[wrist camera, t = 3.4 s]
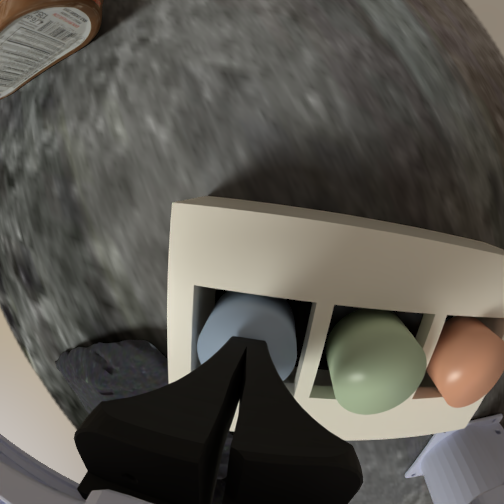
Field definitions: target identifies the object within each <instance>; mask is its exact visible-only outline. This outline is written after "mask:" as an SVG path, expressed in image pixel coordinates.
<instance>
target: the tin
mask: <svg viewBox="0 0 504 504" xmlns="http://www.w3.org/2000/svg"><path fill="white" fill-rule="evenodd" d="M103 1H104V0H1V1H0V100H1V99H3V98H5V97H7V96H9V95H11V94H12V93H14V92H15V91H17V90H18V89H19V88H21V87H22V86H23V85H25V84H26V83H28V82H29V81H30V80H32V79H33V78H35V77H36V76H38V75H39V74H41V73H42V72H44V71H45V70H47V69H48V68H50V67H51V66H53V65H55V64H56V63H58V62H60V61H61V60H63V59H65V58H66V57H68V56H70V55H71V54H73V53H75V52H77V51H78V50H80V49H81V48H83V47H84V46H86V45H87V44H88V43H89V42H90V41H91V40H92V39H93V38H94V37H95V36H96V34H97V33H98V31H99V29H100V26H101V20H102V5H103Z"/></svg>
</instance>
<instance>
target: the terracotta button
mask: <svg viewBox="0 0 504 504" xmlns="http://www.w3.org/2000/svg"><path fill="white" fill-rule="evenodd" d="M503 370H504V341H503V340H502V339H501V338H500V337H498V336H497V335H496V334H495V333H494V332H493V331H491V330H490V329H489V328H488V327H487V326H485V325H484V324H483V323H482V322H481V321H479V320H478V319H477V318H476V317H472V316H455V317H453V318H451V319H449V320H448V321H446V322H445V323H444V325H443V328H442V331H441V334H440V336H439V339H438V342H437V344H436V347H435V349H434V352H433V354H432V357H431V359H430V361H429V364H428V366H427V368H426V372H427V373H428V375H429V376H430V378H431V379H432V381H433V382H434V384H435V385H436V387H437V388H438V390H439V391H440V393H441V395H442V396H443V398H444V399H445V401H446V402H447V404H448V405H449V406H451V407H454V408H461V407H465V406H468V405H470V404H473V403H474V402H476V401H478V400H479V399H481V398H482V397H483V396H484V395H486V394H487V393H488V392H489V391H490V390H491V389H492V387H493V386H494V385H495V384H496V382H497V381H498V379H499V378H500V376H501V374H502V373H503Z"/></svg>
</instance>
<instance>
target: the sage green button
mask: <svg viewBox="0 0 504 504" xmlns="http://www.w3.org/2000/svg"><path fill="white" fill-rule="evenodd" d="M325 352H326V358H327V363H328V367H329V371H330V376H331V381H332V385H333V390H334V394H335V397H336V400H337V401H338V403H339V404H340V405H341V406H342V407H343V408H344V409H346V410H348V411H350V412H352V413H356V414H361V415H371V414H378V413H382V412H385V411H388V410H390V409H392V408H395V407H396V406H398V405H400V404H401V403H403V402H404V401H405V400H407V399H408V398H409V397H410V396H411V395H412V394H413V393H414V392H415V391H416V389H417V388H418V387H419V385H420V384H421V382H422V380H423V378H424V375H425V372H426V366H427V359H426V355H425V352H424V350H423V349H422V347H421V346H420V344H419V343H418V342H417V340H416V339H415V338H414V336H413V335H412V334H411V333H410V331H409V330H408V329H407V327H406V326H405V325H404V324H403V322H402V321H401V320H400V319H399V317H398V316H397V315H396V314H395V313H393V312H392V311H390V310H381V309H370V308H361V309H358V310H355V311H353V312H351V313H349V314H348V315H346V316H345V317H343V318H342V319H341V320H340V321H339V322H338V323H337V324H336V325H335V326H334V327H333V329H332V331H331V332H330V334H329V336H328V339H327V342H326V349H325Z"/></svg>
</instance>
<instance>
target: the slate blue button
mask: <svg viewBox="0 0 504 504" xmlns="http://www.w3.org/2000/svg"><path fill="white" fill-rule="evenodd" d="M232 336H237V337H244V338H250V339H257V340H264V341H266V343H267V346H268V350H269V353H270V356H271V359H272V361H273V363H274V365H275V368H276V370H277V372H278V374H279V375H280V377H281V379H282V381H284V380H285V379H286V378H287V377H288V376H289V375H290V373H291V372H292V370H293V368H294V366H295V363H296V359H297V345H296V332H295V321H294V314H293V311H292V309H291V307H290V305H289V304H288V302H287V301H286V300H285V299H284V298H277V297H270V296H263V295H256V294H249V293H242V292H235V291H227V292H226V293H225V294H224V295H222V296H221V297H220V299H219V300H218V301H217V303H216V304H215V306H214V308H213V310H212V312H211V314H210V316H209V318H208V320H207V322H206V323H205V325H204V327H203V329H202V331H201V333H200V335H199V339H198V343H197V352H198V357H199V360H200V363H201V365H202V364H203V363H204V362H206V361H207V360H208V359H209V358H210V357H211V356H213V355H214V354H215V353H216V352H217V351H218V350H219V349H220V348H221V347H222V346H223V345H224V344H225V343H226V342H227V341H228V340H229V339H230V338H231V337H232Z"/></svg>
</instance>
